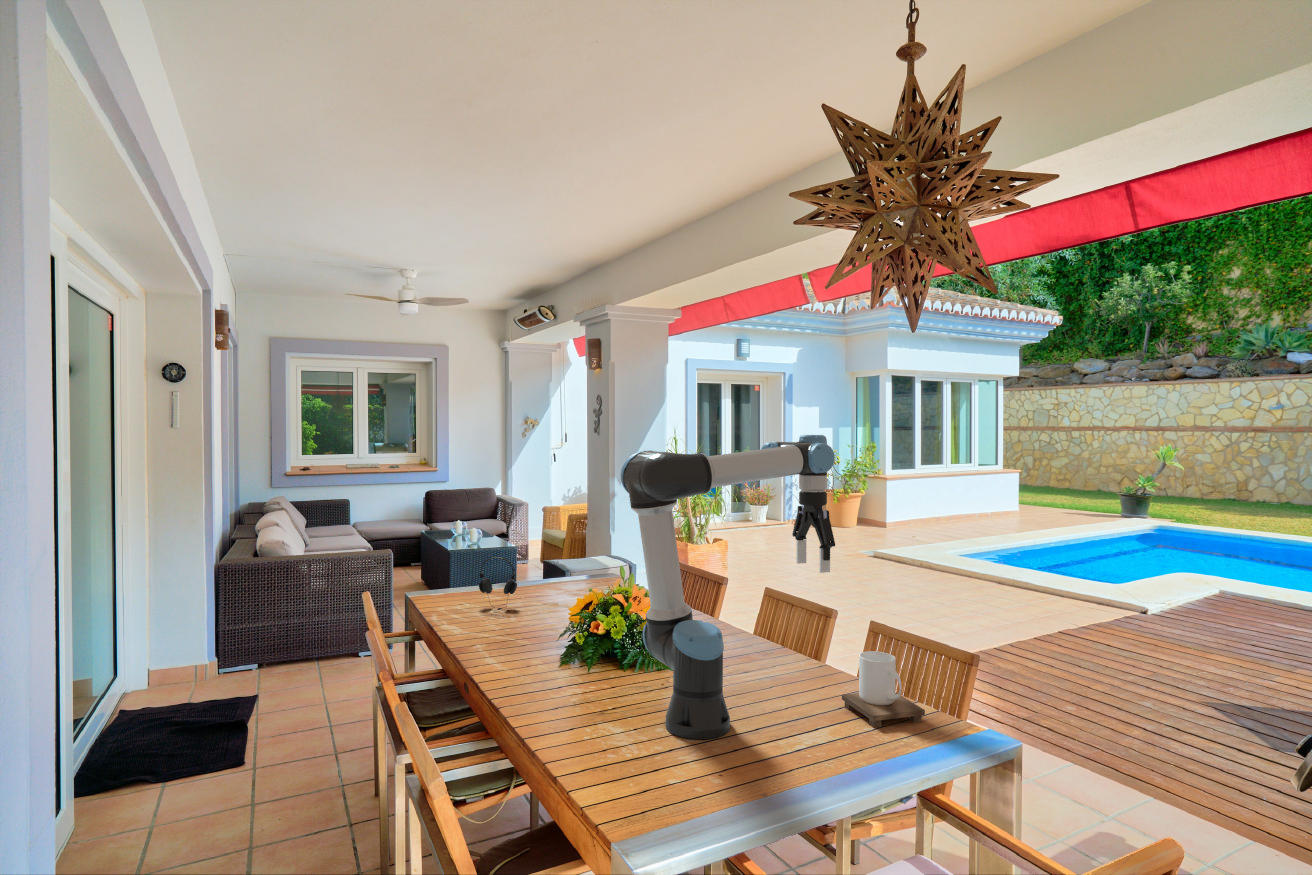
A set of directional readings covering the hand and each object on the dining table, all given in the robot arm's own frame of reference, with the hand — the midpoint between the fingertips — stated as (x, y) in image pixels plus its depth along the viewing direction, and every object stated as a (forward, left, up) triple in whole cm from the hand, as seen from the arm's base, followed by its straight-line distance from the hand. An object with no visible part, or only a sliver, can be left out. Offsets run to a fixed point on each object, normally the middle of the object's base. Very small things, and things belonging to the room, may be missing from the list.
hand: (812, 567), depth 197 cm
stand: (+6, -25, -32) cm, 41 cm away
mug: (+6, -25, -29) cm, 38 cm away
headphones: (-80, +105, -32) cm, 136 cm away
